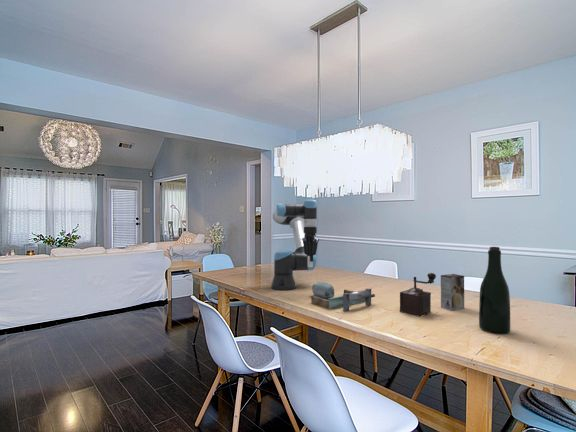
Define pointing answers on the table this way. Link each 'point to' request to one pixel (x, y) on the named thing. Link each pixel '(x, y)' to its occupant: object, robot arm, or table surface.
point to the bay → (333, 301)
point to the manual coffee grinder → (416, 299)
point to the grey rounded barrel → (323, 290)
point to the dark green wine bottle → (494, 297)
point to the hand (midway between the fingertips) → (310, 267)
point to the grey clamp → (355, 296)
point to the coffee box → (452, 292)
